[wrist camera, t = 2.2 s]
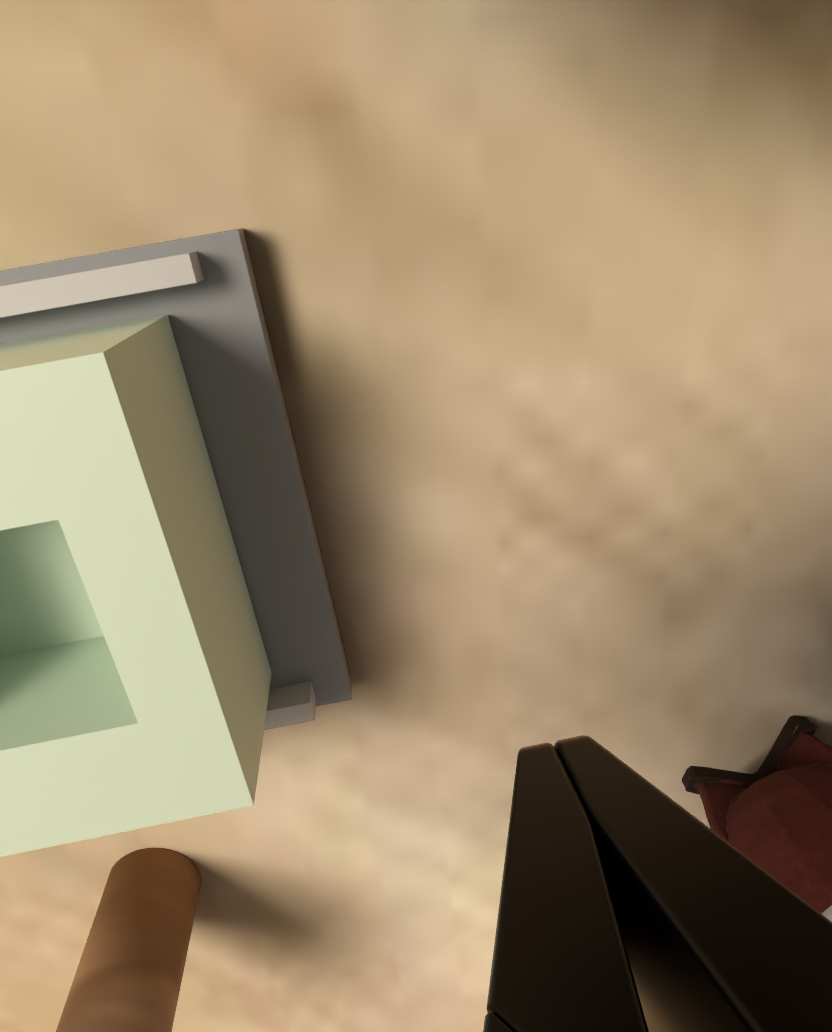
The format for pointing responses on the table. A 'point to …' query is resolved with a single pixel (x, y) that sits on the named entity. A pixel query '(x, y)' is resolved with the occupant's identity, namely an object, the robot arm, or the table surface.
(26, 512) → the sliding block
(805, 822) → the mate gourd
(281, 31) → the table surface
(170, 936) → the walnut peg
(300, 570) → the guide board
